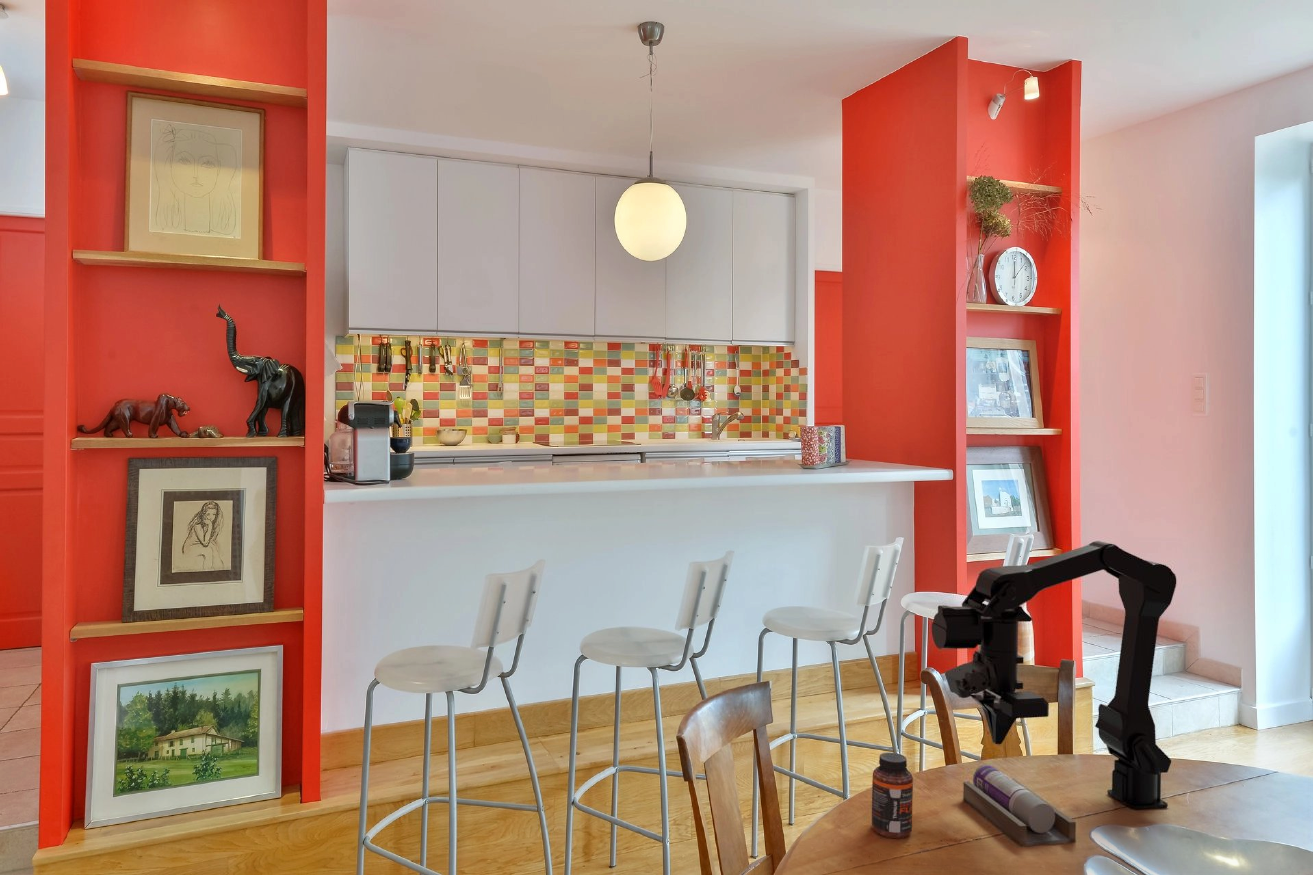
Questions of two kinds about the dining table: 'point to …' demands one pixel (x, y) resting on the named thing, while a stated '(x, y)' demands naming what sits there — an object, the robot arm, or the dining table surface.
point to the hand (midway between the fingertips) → (997, 743)
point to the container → (1014, 798)
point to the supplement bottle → (892, 797)
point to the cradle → (1015, 828)
